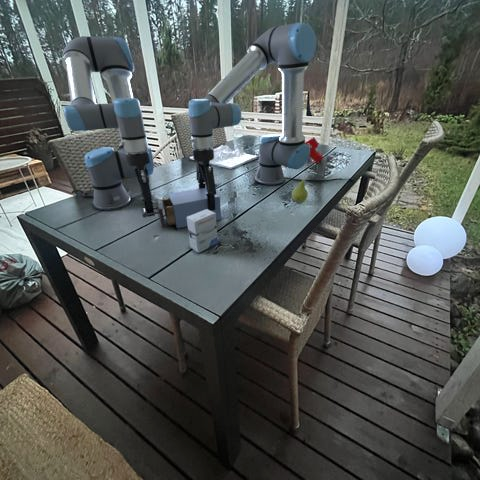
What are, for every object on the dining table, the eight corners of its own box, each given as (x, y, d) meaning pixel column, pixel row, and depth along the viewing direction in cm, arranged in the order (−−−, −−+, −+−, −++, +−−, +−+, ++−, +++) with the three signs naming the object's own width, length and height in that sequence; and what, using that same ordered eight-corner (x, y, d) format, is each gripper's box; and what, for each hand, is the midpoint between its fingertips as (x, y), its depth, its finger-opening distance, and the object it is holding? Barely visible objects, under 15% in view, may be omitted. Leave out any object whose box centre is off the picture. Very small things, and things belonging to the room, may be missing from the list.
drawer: (146, 231, 99) (141, 212, 95) (143, 220, 107) (139, 201, 102) (205, 219, 106) (203, 201, 102) (198, 209, 114) (196, 191, 109)
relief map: (231, 168, 161) (231, 160, 158) (189, 159, 179) (189, 151, 176) (257, 158, 179) (257, 150, 176) (217, 150, 197) (216, 142, 194)
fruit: (288, 200, 123) (290, 174, 116) (302, 197, 125) (305, 172, 119) (296, 206, 118) (299, 179, 111) (310, 203, 120) (314, 177, 114)
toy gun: (326, 157, 168) (314, 136, 164) (326, 159, 164) (313, 137, 160) (301, 172, 178) (289, 153, 174) (300, 174, 174) (287, 154, 170)
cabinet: (177, 228, 103) (173, 204, 97) (171, 216, 111) (167, 193, 106) (221, 219, 108) (219, 196, 103) (212, 208, 117) (211, 186, 111)
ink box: (209, 237, 96) (206, 207, 90) (218, 243, 93) (216, 212, 87) (189, 247, 91) (185, 216, 85) (198, 253, 88) (195, 221, 82)
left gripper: (123, 148, 93) (138, 210, 105) (126, 157, 83) (142, 225, 95) (146, 145, 95) (158, 206, 108) (151, 154, 85) (164, 220, 98)
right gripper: (185, 142, 105) (190, 194, 116) (201, 157, 86) (206, 218, 98) (203, 140, 107) (207, 192, 119) (224, 155, 89) (226, 214, 101)
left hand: (150, 215), depth 102 cm, fingers closed
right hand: (207, 204), depth 109 cm, fingers closed on cabinet, 11 cm apart
